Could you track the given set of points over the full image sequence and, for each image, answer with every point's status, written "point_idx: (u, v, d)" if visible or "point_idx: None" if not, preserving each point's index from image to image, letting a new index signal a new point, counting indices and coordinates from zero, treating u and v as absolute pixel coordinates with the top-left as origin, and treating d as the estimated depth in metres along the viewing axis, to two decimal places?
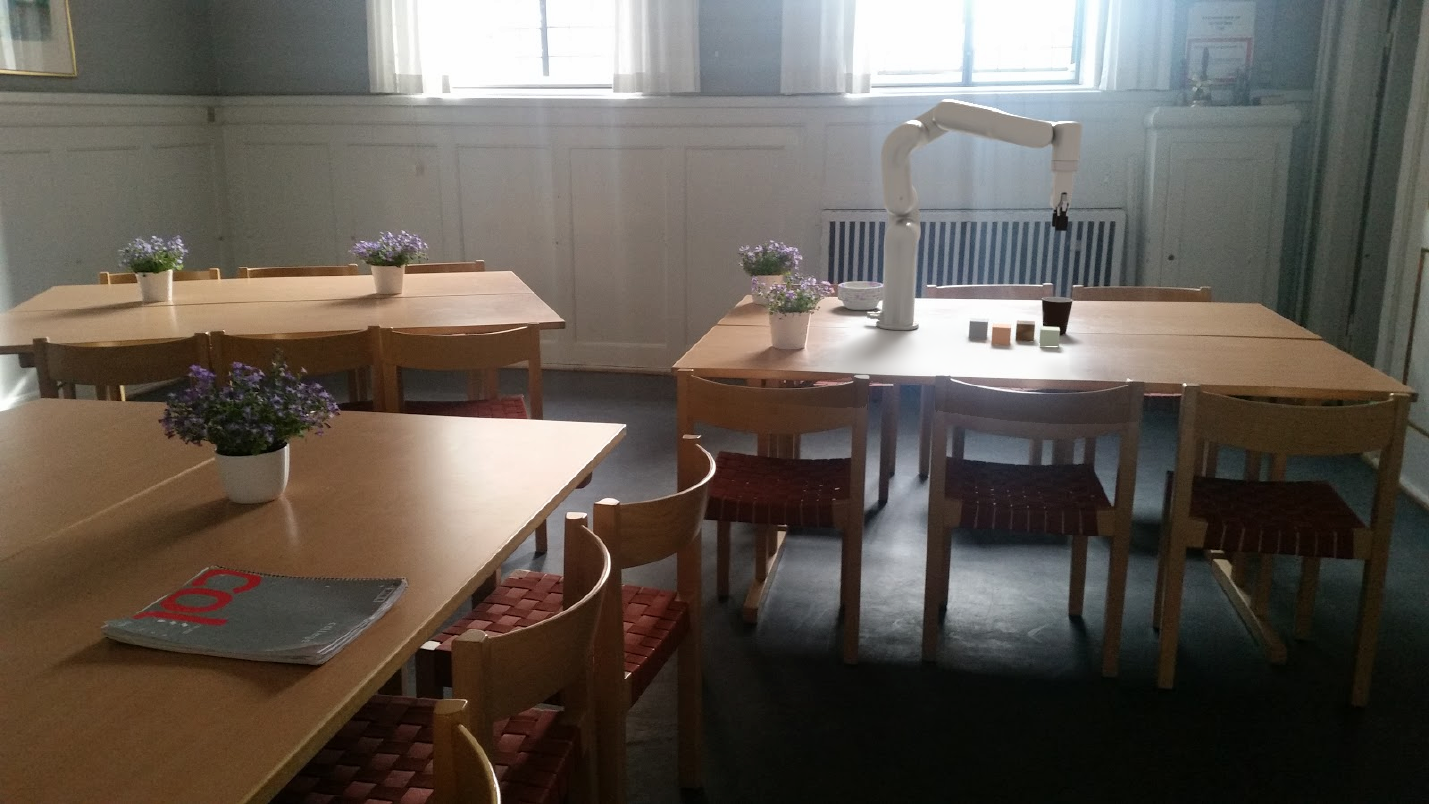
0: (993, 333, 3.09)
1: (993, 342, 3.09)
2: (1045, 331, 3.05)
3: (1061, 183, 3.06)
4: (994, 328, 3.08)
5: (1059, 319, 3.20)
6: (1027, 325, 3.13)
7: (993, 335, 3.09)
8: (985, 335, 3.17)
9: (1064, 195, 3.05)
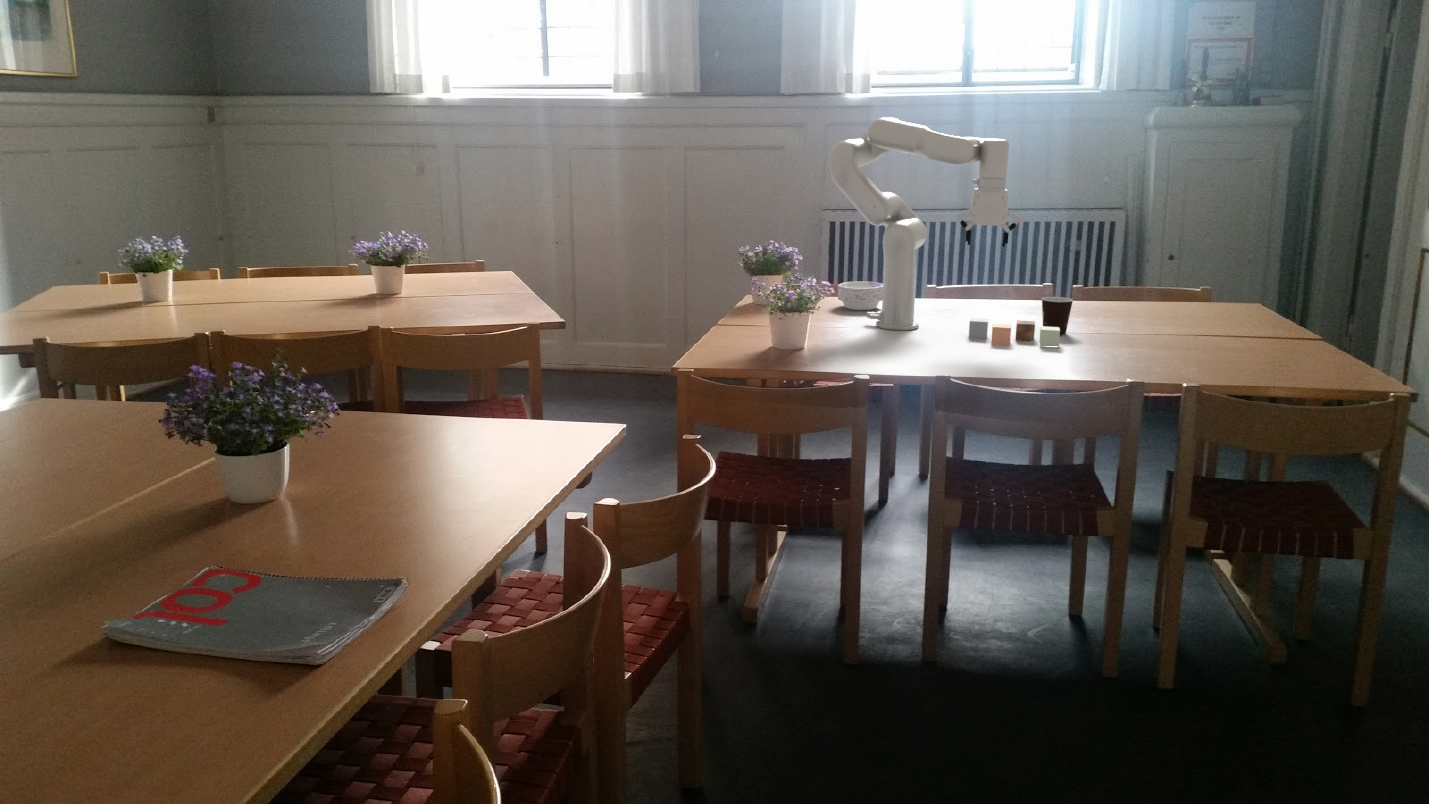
0: (993, 333, 3.09)
1: (993, 342, 3.09)
2: (1045, 331, 3.05)
3: None
4: (994, 328, 3.08)
5: (1059, 319, 3.20)
6: (1027, 325, 3.13)
7: (993, 335, 3.09)
8: (985, 335, 3.17)
9: (1011, 212, 3.11)
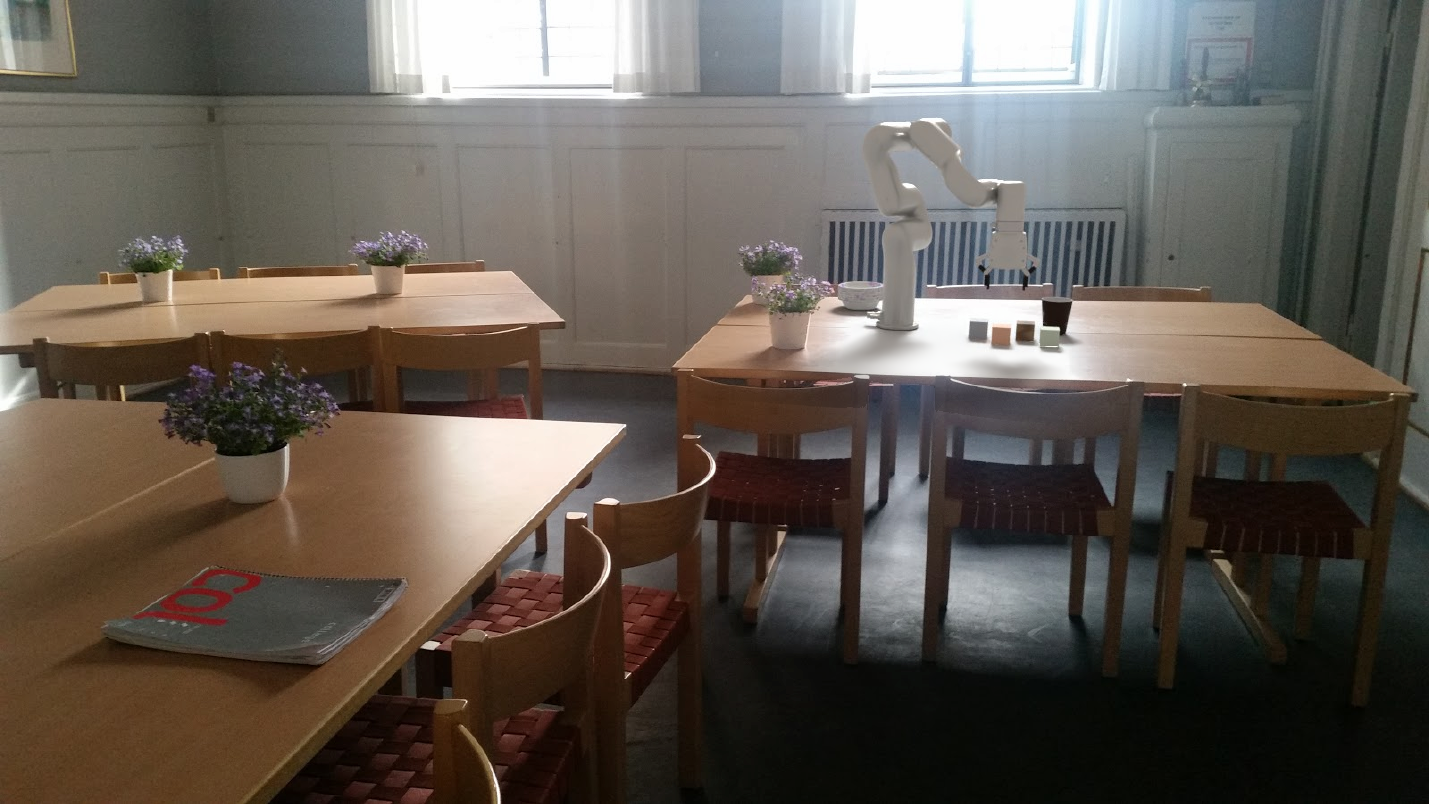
0: (993, 333, 3.09)
1: (993, 342, 3.09)
2: (1045, 331, 3.05)
3: (1026, 243, 3.02)
4: (994, 328, 3.08)
5: (1059, 319, 3.20)
6: (1027, 325, 3.13)
7: (993, 335, 3.09)
8: (985, 335, 3.17)
9: (1030, 255, 3.03)
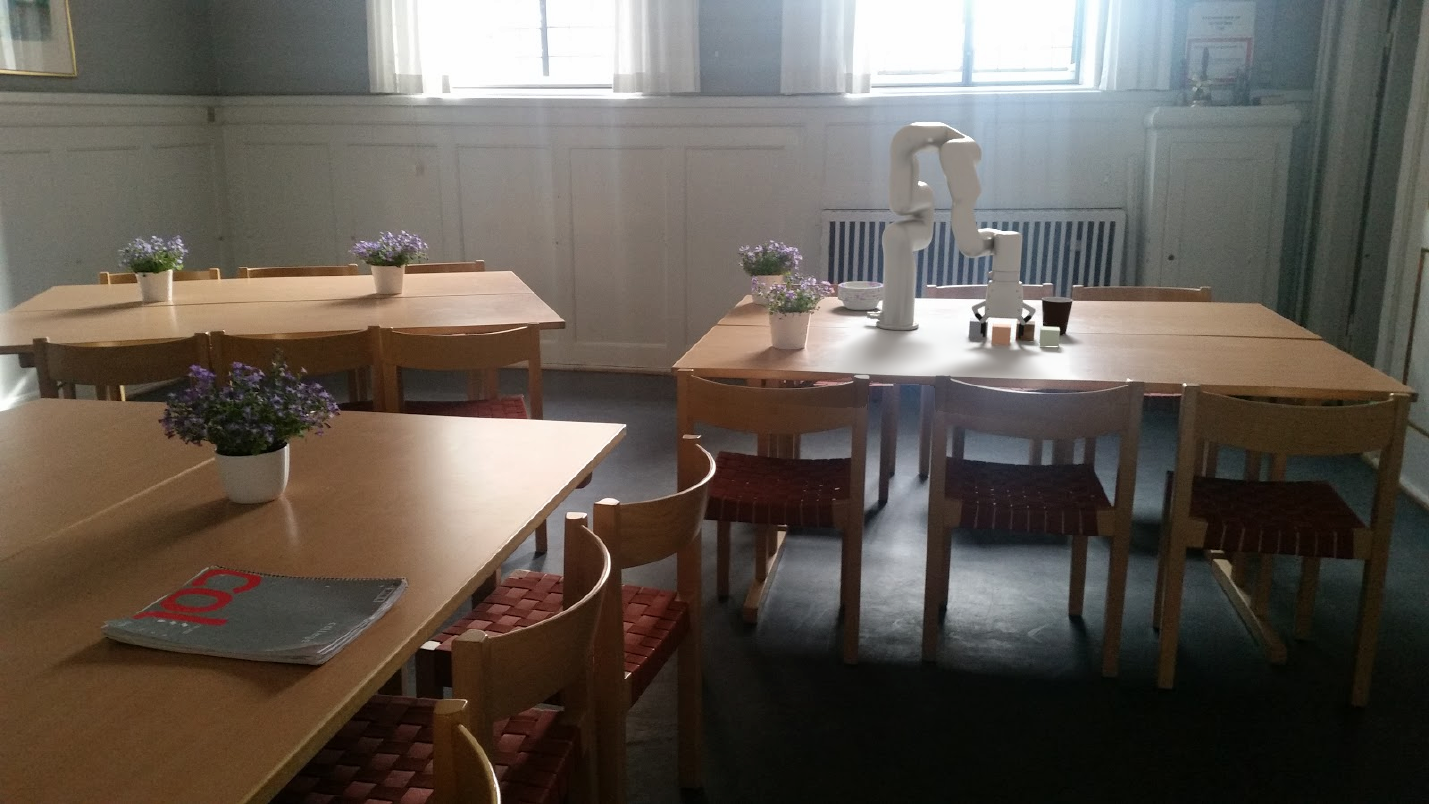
0: (993, 333, 3.09)
1: (993, 342, 3.09)
2: (1045, 331, 3.05)
3: (1022, 293, 3.05)
4: (994, 328, 3.08)
5: (1059, 319, 3.20)
6: (1027, 325, 3.13)
7: (993, 335, 3.09)
8: None
9: (1026, 304, 3.07)
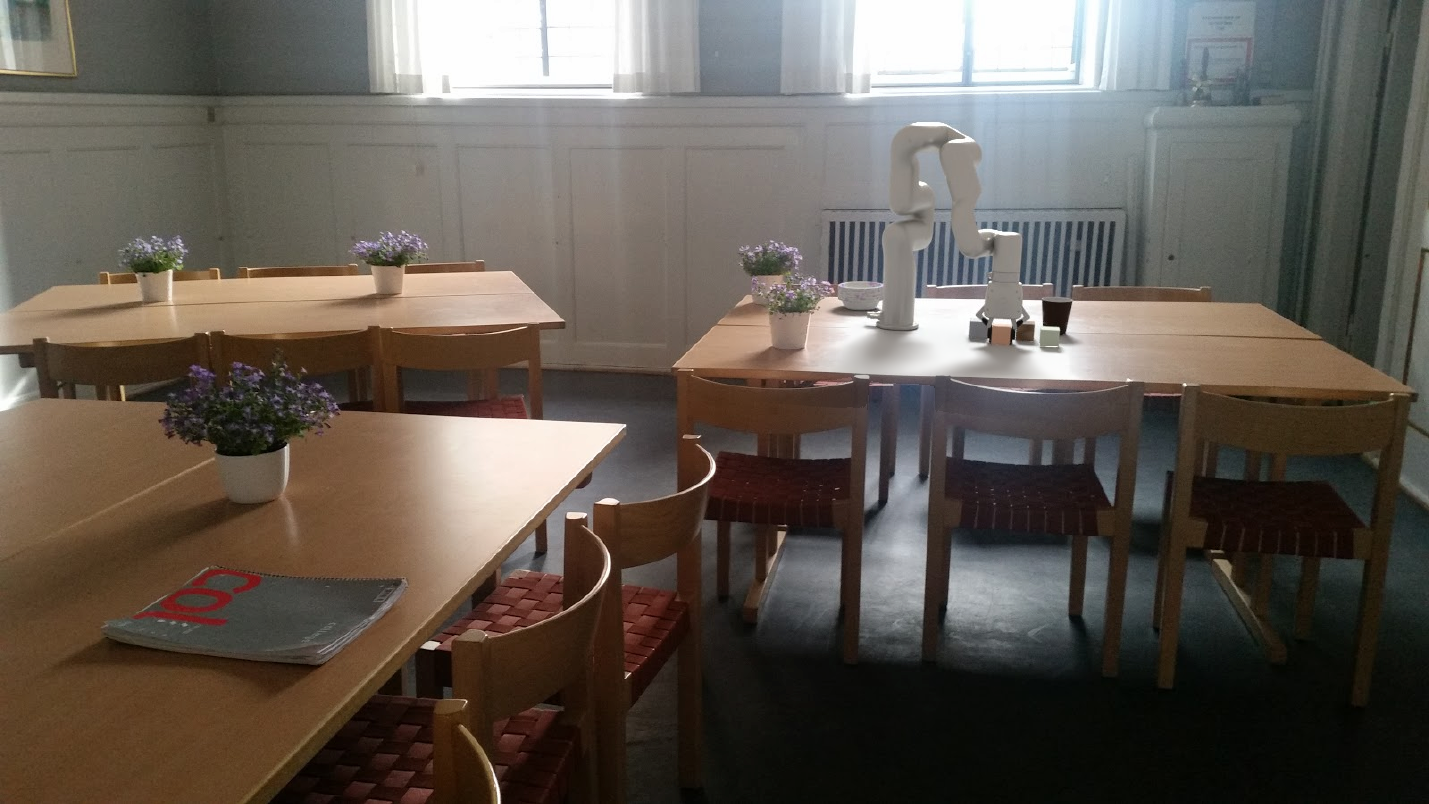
0: (993, 333, 3.09)
1: (993, 342, 3.09)
2: (1045, 331, 3.05)
3: (1022, 293, 3.06)
4: (994, 328, 3.08)
5: (1059, 319, 3.20)
6: (1027, 325, 3.13)
7: (993, 335, 3.09)
8: (985, 335, 3.17)
9: (1023, 308, 3.07)
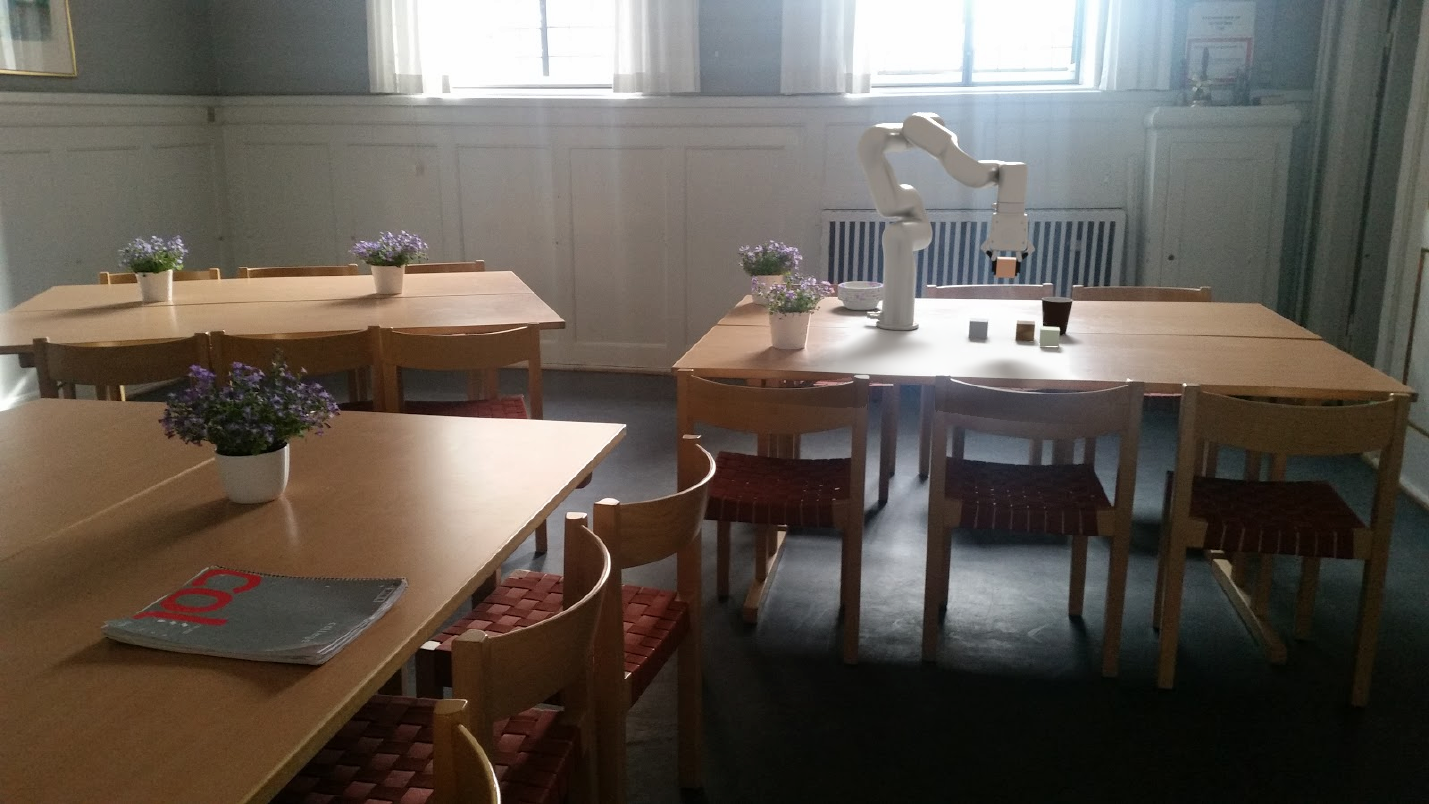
0: (998, 265, 3.04)
1: (998, 275, 3.05)
2: (1045, 331, 3.05)
3: (1027, 225, 3.01)
4: (999, 260, 3.03)
5: (1059, 319, 3.20)
6: (1027, 325, 3.13)
7: (998, 267, 3.04)
8: (985, 335, 3.17)
9: None
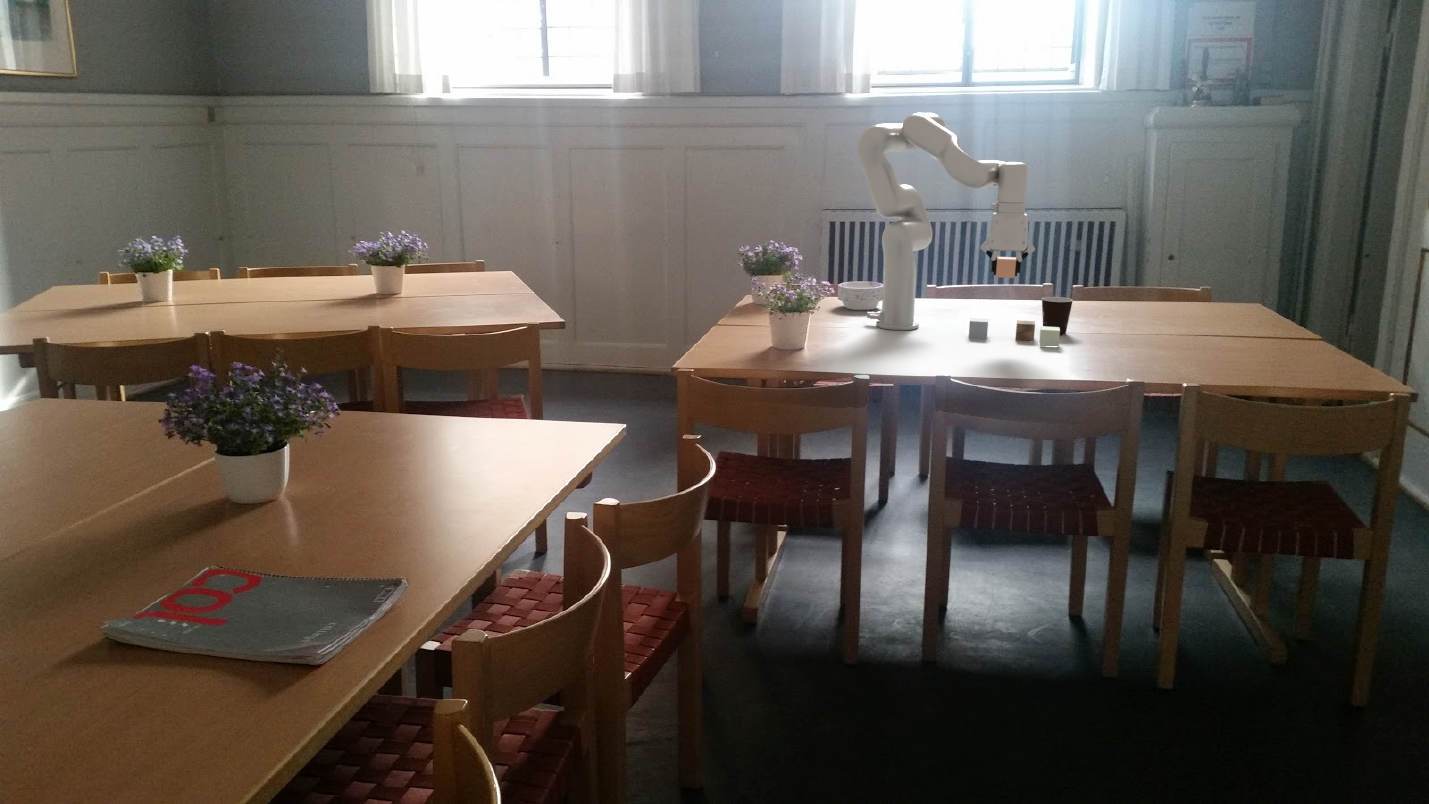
0: (998, 265, 3.04)
1: (998, 275, 3.05)
2: (1045, 331, 3.05)
3: (1027, 225, 3.01)
4: (999, 260, 3.03)
5: (1059, 319, 3.20)
6: (1027, 325, 3.13)
7: (998, 267, 3.04)
8: (985, 335, 3.17)
9: None
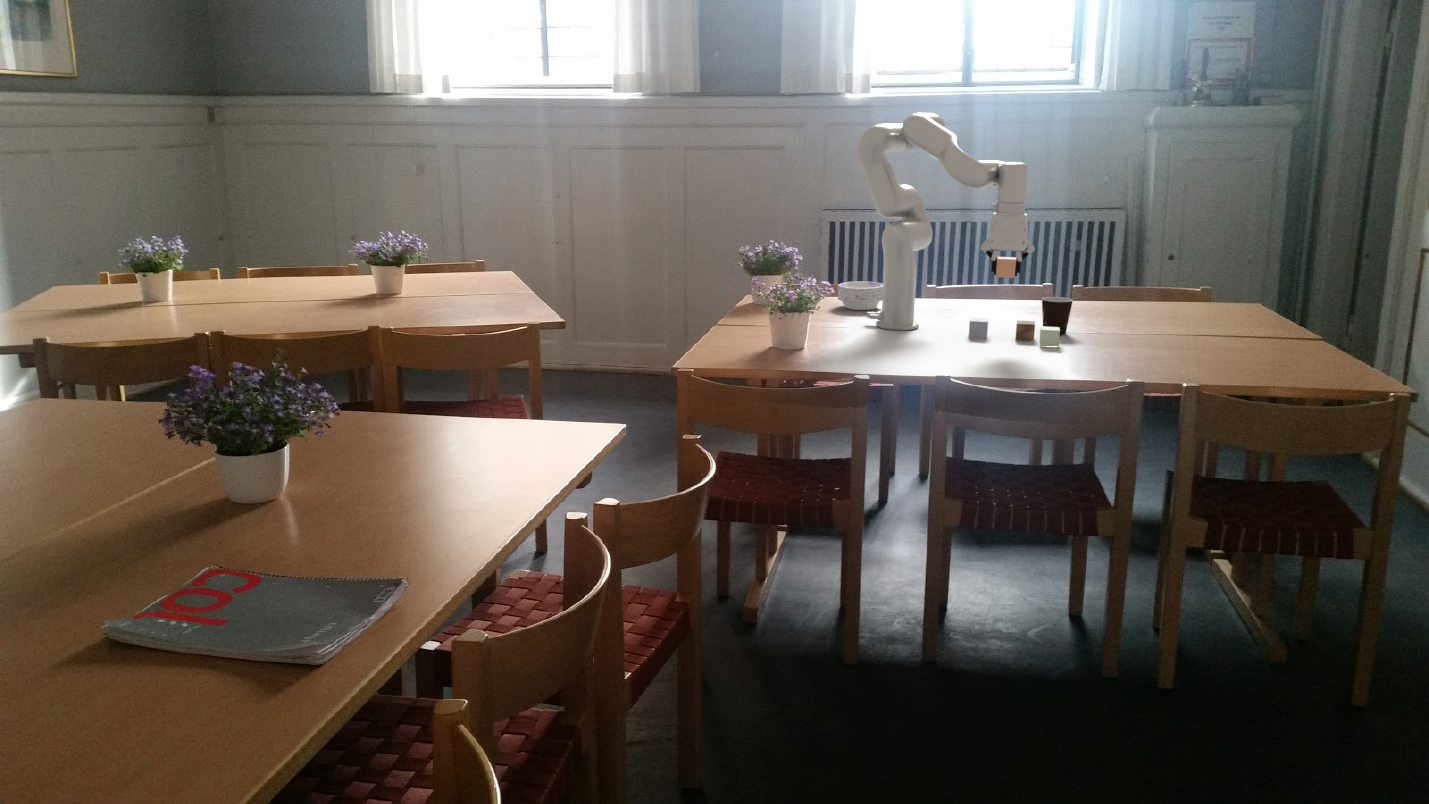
0: (998, 265, 3.04)
1: (998, 275, 3.05)
2: (1045, 331, 3.05)
3: (1027, 225, 3.01)
4: (999, 260, 3.03)
5: (1059, 319, 3.20)
6: (1027, 325, 3.13)
7: (998, 267, 3.04)
8: (985, 335, 3.17)
9: None
